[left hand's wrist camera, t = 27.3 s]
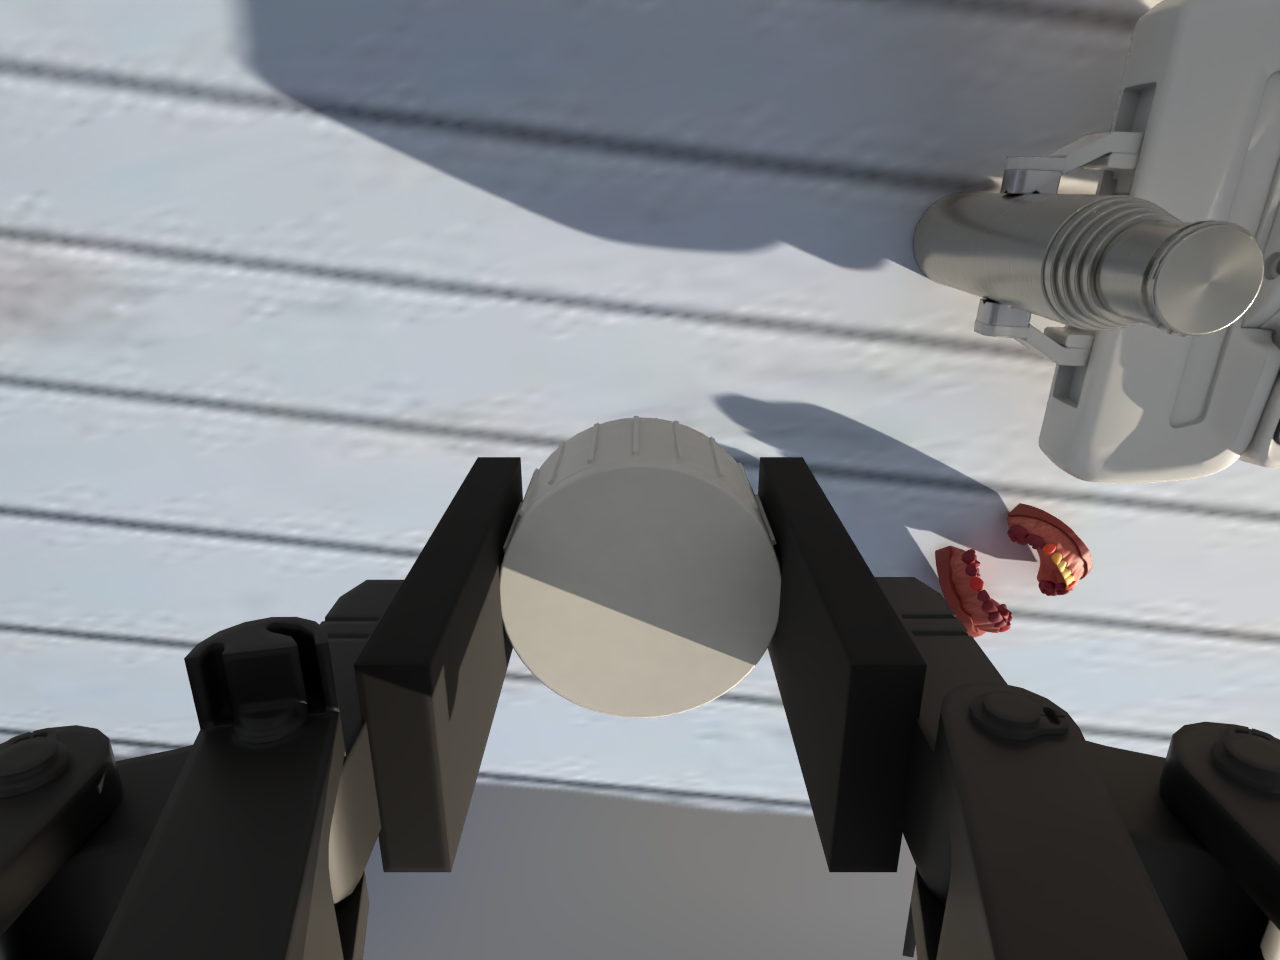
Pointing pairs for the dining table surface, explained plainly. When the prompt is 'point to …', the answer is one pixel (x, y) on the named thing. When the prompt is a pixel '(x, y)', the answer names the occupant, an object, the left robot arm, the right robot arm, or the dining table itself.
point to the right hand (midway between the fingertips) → (994, 249)
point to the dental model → (1057, 575)
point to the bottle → (1092, 260)
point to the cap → (640, 570)
